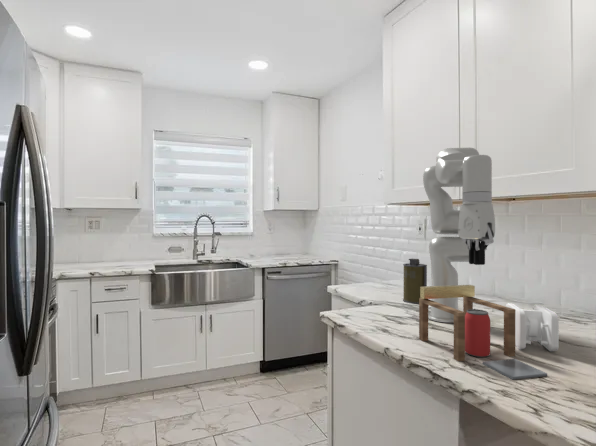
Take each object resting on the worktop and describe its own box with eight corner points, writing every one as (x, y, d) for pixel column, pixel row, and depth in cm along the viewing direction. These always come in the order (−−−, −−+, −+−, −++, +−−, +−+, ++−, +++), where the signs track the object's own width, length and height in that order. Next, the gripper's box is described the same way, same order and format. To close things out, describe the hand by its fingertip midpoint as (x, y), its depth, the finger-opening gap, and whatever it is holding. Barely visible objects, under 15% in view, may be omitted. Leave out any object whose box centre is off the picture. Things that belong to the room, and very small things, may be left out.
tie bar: (420, 297, 118) (420, 286, 118) (470, 295, 122) (470, 284, 122) (424, 299, 116) (424, 287, 116) (474, 296, 120) (474, 285, 120)
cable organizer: (504, 336, 122) (504, 301, 122) (540, 339, 119) (540, 302, 119) (519, 352, 107) (519, 311, 107) (561, 355, 105) (561, 314, 105)
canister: (398, 301, 177) (398, 258, 177) (410, 298, 184) (410, 257, 184) (419, 304, 169) (419, 260, 169) (431, 301, 176) (431, 259, 176)
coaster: (482, 363, 98) (482, 361, 98) (514, 360, 100) (514, 358, 100) (512, 379, 88) (512, 377, 88) (547, 375, 90) (547, 373, 90)
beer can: (468, 357, 103) (468, 313, 103) (461, 349, 109) (461, 308, 109) (494, 358, 102) (494, 314, 102) (485, 350, 108) (485, 309, 108)
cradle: (419, 339, 119) (419, 298, 119) (468, 335, 123) (468, 295, 123) (458, 361, 100) (458, 312, 100) (515, 356, 104) (515, 309, 104)
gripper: (448, 200, 113) (448, 261, 112) (484, 197, 97) (484, 267, 97) (470, 201, 114) (470, 261, 114) (509, 197, 99) (509, 267, 99)
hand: (476, 263), depth 106 cm, fingers closed
